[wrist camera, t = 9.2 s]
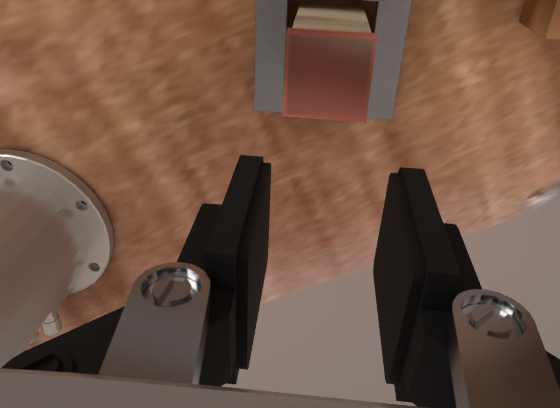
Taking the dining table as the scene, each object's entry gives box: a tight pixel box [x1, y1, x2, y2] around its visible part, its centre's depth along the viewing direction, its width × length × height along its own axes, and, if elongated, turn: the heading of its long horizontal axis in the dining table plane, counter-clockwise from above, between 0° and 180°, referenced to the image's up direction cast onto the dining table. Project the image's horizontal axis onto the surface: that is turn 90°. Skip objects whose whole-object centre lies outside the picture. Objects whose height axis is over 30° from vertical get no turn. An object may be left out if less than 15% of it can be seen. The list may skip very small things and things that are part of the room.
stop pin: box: [283, 2, 378, 122], centre depth 25 cm, size 4×4×8 cm
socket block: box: [254, 0, 412, 120], centre depth 27 cm, size 8×8×2 cm
